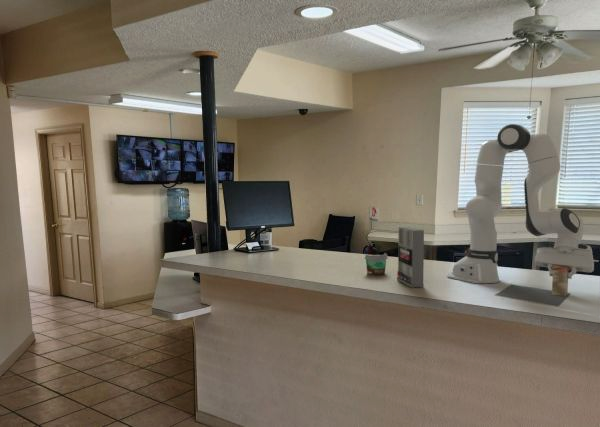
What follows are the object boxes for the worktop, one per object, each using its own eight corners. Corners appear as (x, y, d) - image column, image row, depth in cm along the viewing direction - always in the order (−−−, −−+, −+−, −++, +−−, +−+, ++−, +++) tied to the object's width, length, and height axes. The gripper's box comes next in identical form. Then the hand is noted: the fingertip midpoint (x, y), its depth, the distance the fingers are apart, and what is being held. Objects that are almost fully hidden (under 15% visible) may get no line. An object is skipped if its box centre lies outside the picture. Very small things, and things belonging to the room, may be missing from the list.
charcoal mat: (494, 296, 163) (494, 295, 163) (511, 285, 179) (511, 284, 179) (558, 307, 148) (558, 306, 148) (570, 294, 164) (570, 293, 164)
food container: (371, 277, 197) (371, 256, 196) (364, 274, 202) (364, 254, 202) (392, 274, 202) (392, 254, 201) (385, 272, 207) (385, 252, 207)
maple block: (551, 294, 163) (552, 267, 162) (554, 291, 166) (555, 265, 165) (565, 296, 160) (566, 268, 159) (567, 293, 163) (568, 266, 162)
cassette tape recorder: (396, 280, 190) (396, 227, 188) (408, 279, 192) (408, 226, 189) (410, 288, 177) (411, 230, 175) (423, 287, 178) (424, 230, 176)
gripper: (536, 241, 174) (529, 268, 167) (595, 246, 160) (590, 276, 153) (539, 250, 177) (532, 277, 171) (596, 256, 163) (591, 285, 157)
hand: (560, 276), depth 162 cm, fingers closed on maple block, 4 cm apart
